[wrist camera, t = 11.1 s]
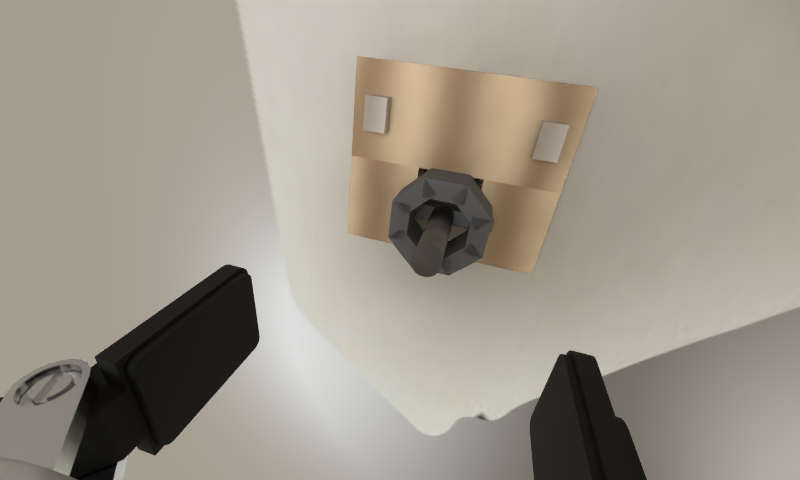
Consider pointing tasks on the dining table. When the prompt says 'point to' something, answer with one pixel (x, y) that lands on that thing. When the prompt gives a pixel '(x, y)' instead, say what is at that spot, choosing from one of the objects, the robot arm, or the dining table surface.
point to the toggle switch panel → (463, 152)
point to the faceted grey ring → (445, 189)
